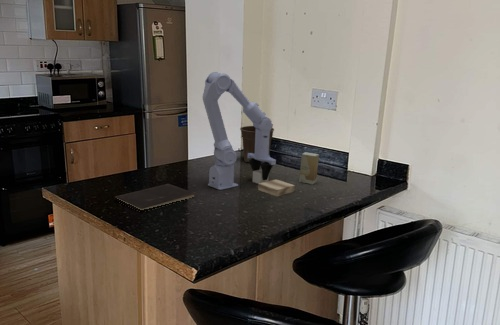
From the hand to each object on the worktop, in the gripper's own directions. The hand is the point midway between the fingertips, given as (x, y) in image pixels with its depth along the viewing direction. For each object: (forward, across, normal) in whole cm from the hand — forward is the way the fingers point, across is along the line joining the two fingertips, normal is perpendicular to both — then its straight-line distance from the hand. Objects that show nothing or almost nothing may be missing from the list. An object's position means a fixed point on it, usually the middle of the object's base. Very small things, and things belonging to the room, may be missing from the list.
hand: (260, 178), depth 183 cm
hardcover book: (+2, +7, +45) cm, 46 cm away
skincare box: (+2, -12, -16) cm, 20 cm away
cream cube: (+2, 0, 0) cm, 2 cm away
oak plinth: (+2, -12, +3) cm, 13 cm away
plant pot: (+2, +27, -23) cm, 36 cm away
